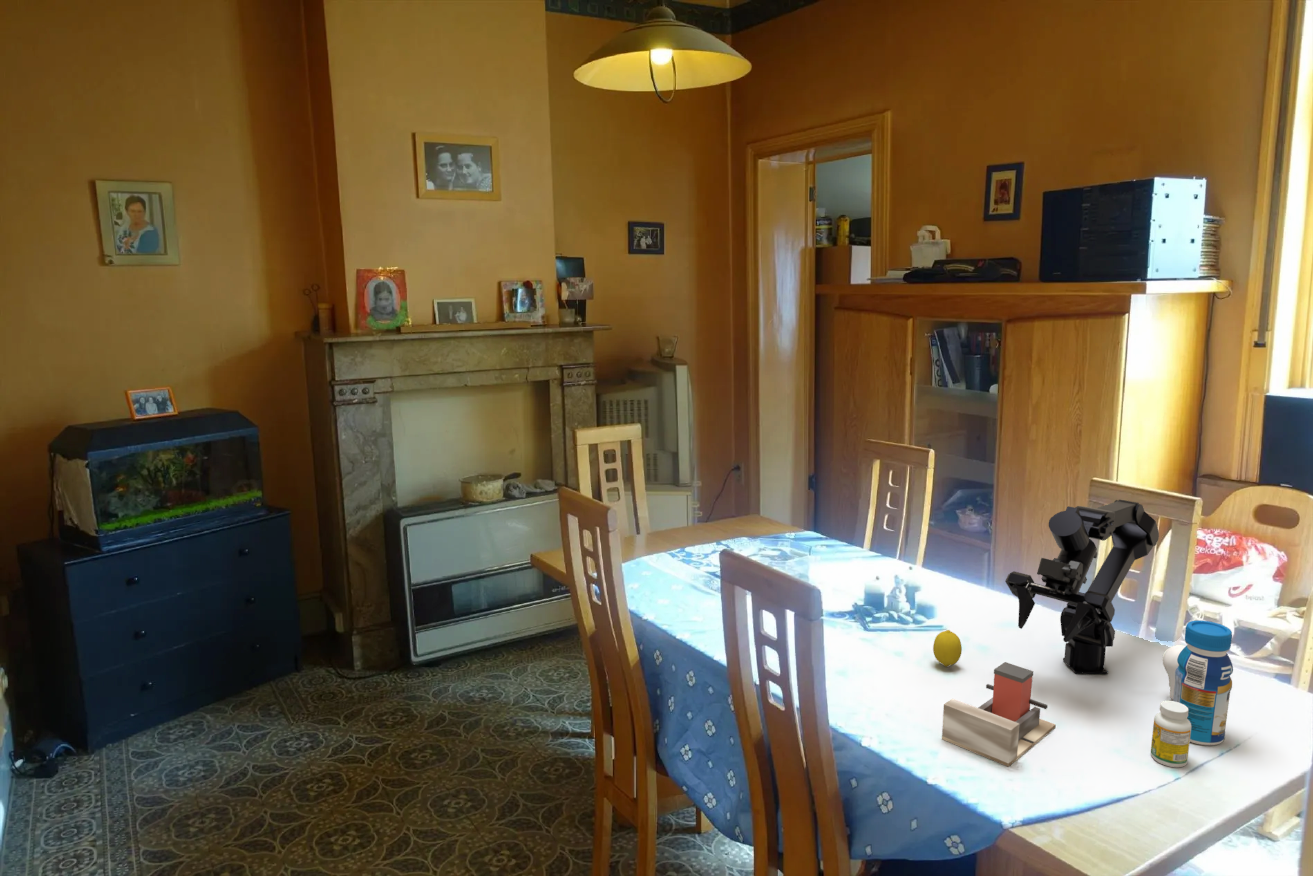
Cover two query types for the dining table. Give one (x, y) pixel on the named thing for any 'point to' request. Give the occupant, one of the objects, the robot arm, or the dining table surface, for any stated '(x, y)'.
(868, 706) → the dining table surface
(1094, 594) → the robot arm
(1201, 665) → the beverage bottle
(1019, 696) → the red plug
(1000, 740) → the beige base board
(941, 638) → the lemon
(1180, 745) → the supplement bottle
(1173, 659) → the lightbulb
